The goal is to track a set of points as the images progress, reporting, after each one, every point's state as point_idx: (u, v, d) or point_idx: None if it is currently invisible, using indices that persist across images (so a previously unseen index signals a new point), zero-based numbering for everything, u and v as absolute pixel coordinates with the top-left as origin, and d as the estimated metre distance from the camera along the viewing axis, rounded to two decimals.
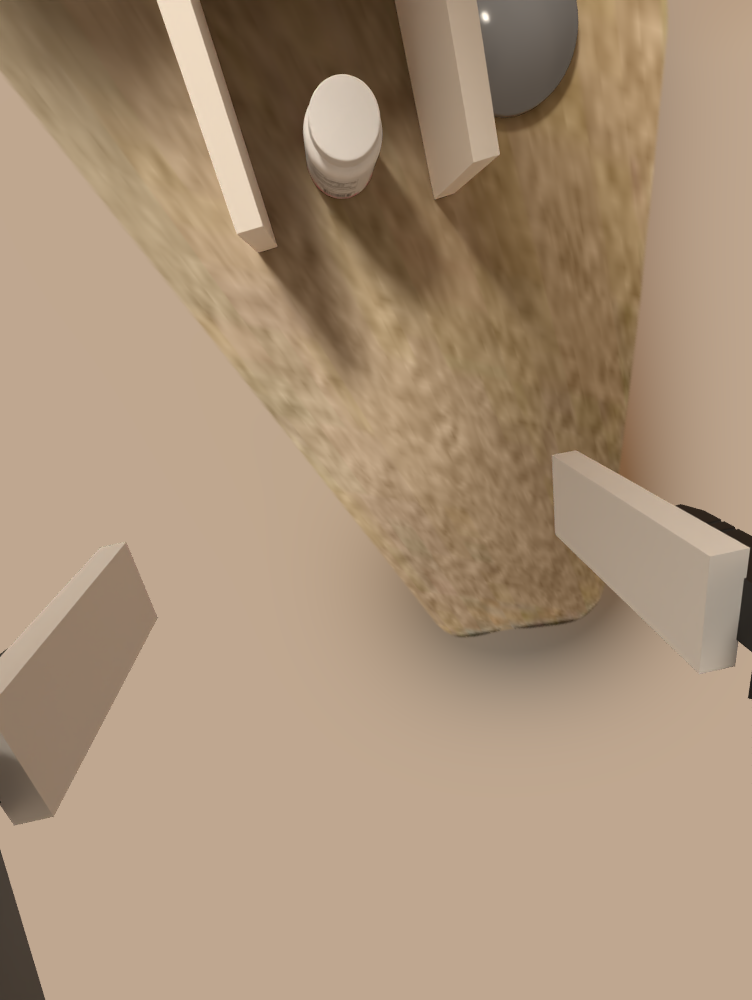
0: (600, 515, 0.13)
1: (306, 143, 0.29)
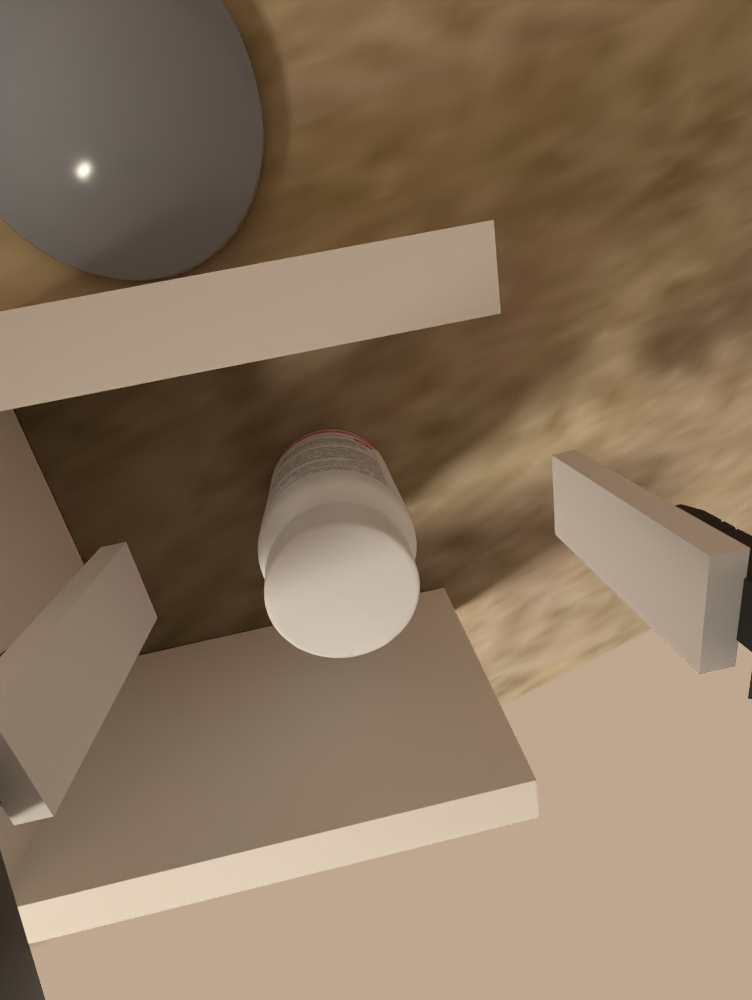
0: (600, 515, 0.13)
1: None
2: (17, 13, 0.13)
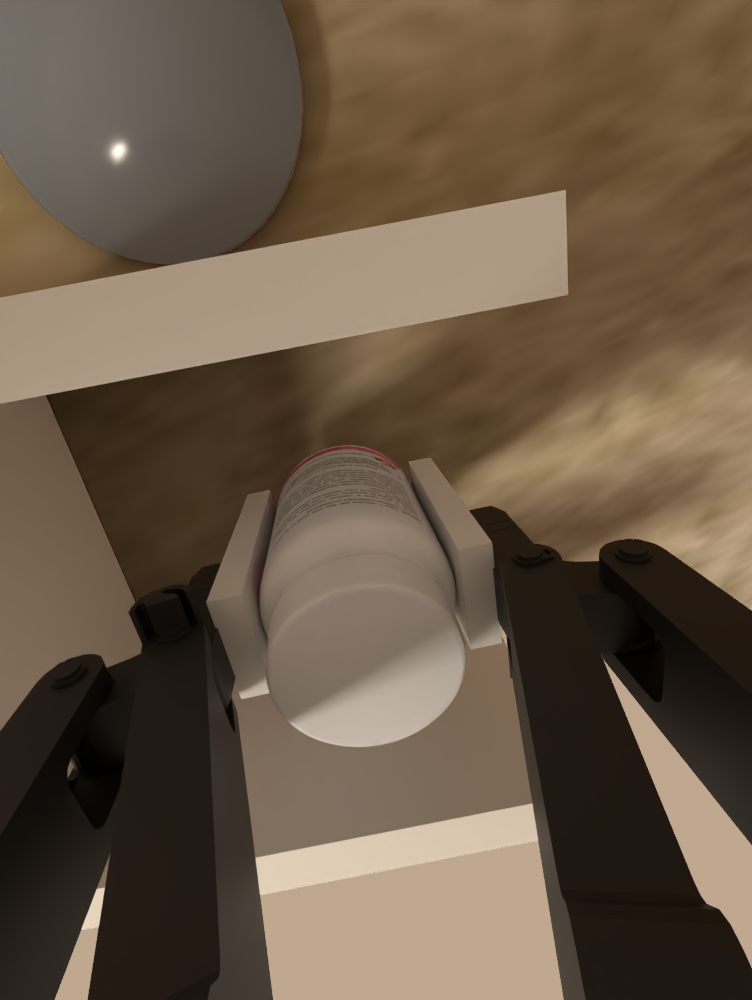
0: (428, 515, 0.14)
1: None
2: None
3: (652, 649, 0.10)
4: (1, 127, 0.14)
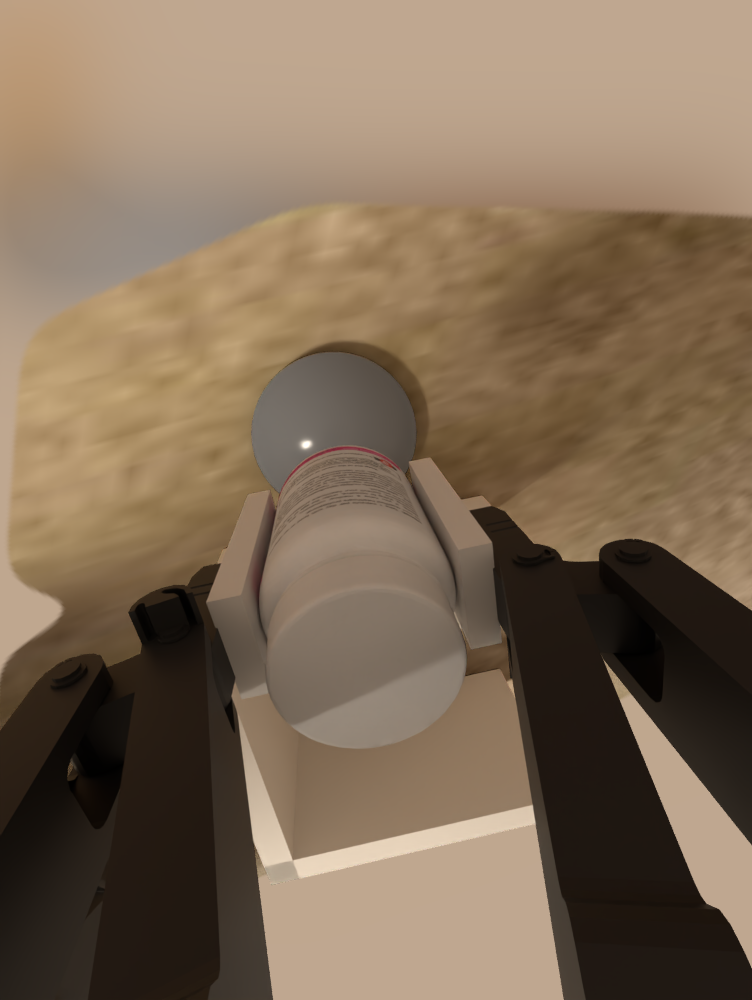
0: (428, 515, 0.14)
1: None
2: (299, 400, 0.26)
3: (653, 649, 0.10)
4: (262, 458, 0.27)
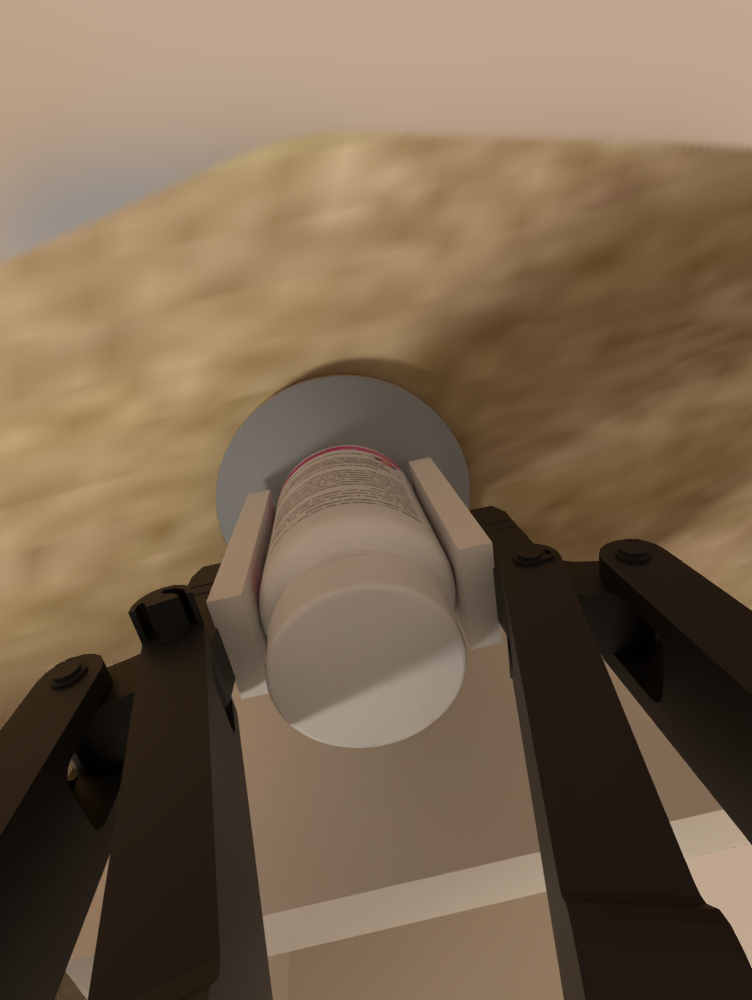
0: (428, 515, 0.14)
1: None
2: (290, 450, 0.17)
3: (652, 649, 0.10)
4: None
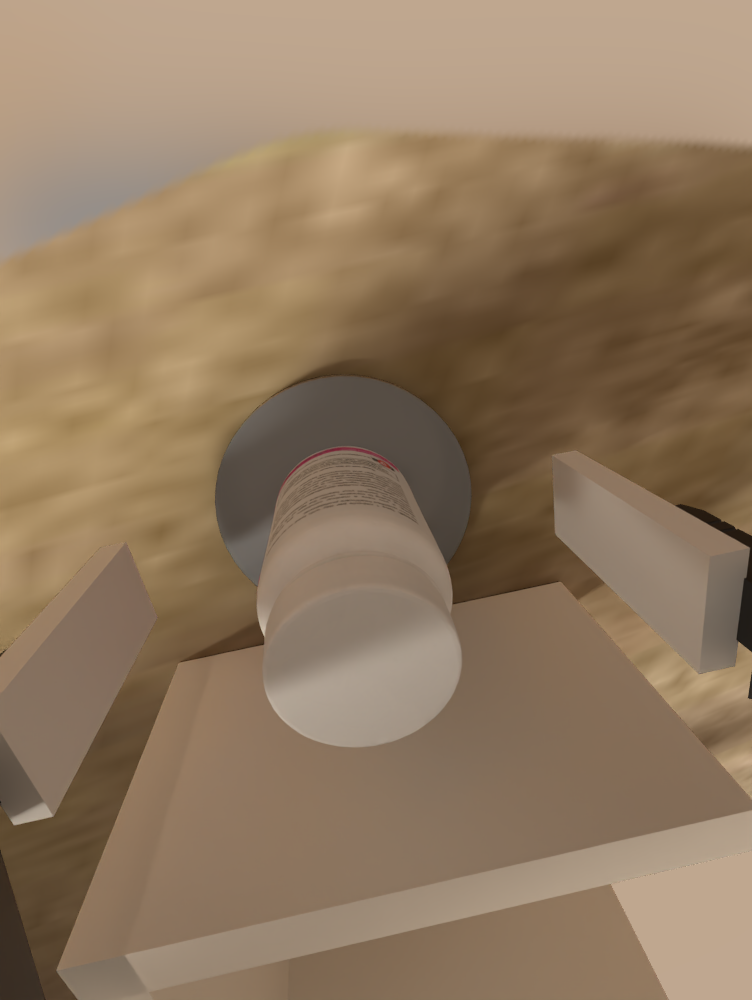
0: (600, 515, 0.13)
1: None
2: (290, 451, 0.16)
3: None
4: (233, 539, 0.17)
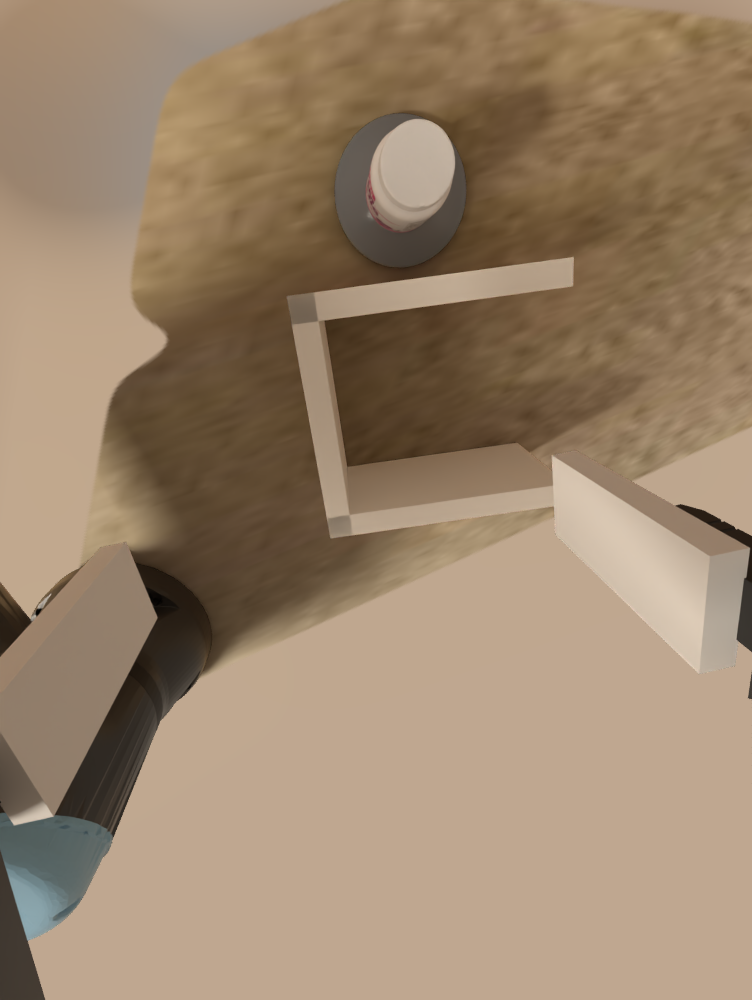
0: (600, 515, 0.13)
1: (416, 219, 0.29)
2: None
3: None
4: (341, 207, 0.34)
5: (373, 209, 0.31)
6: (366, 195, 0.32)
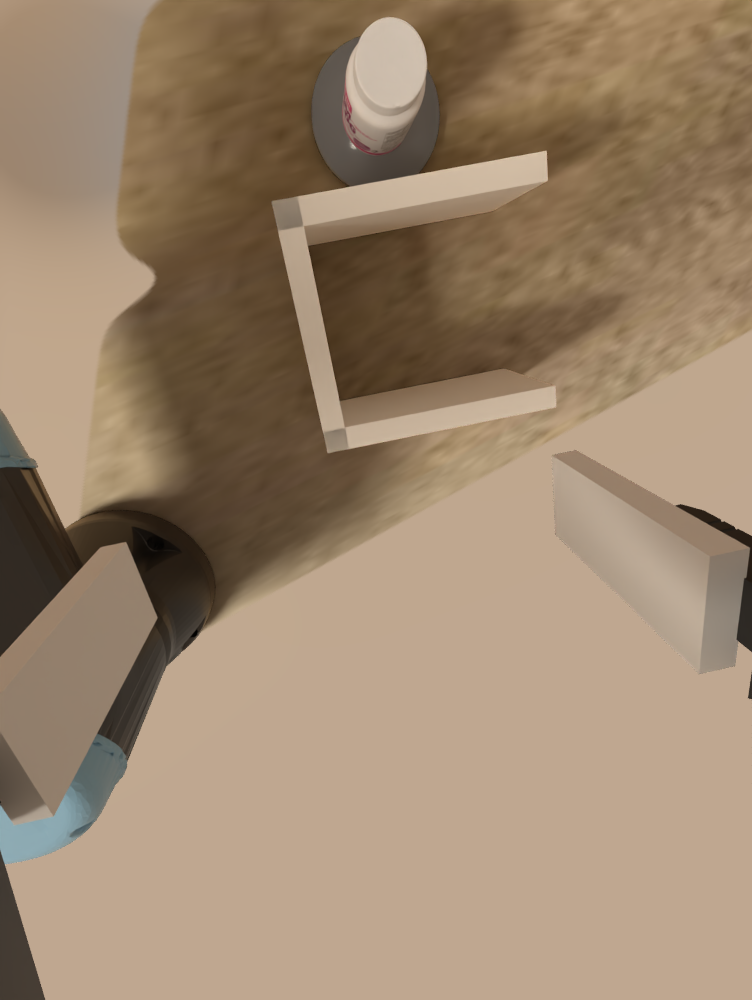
0: (600, 515, 0.13)
1: (393, 126, 0.30)
2: None
3: None
4: (319, 132, 0.34)
5: (350, 127, 0.32)
6: (342, 117, 0.33)
